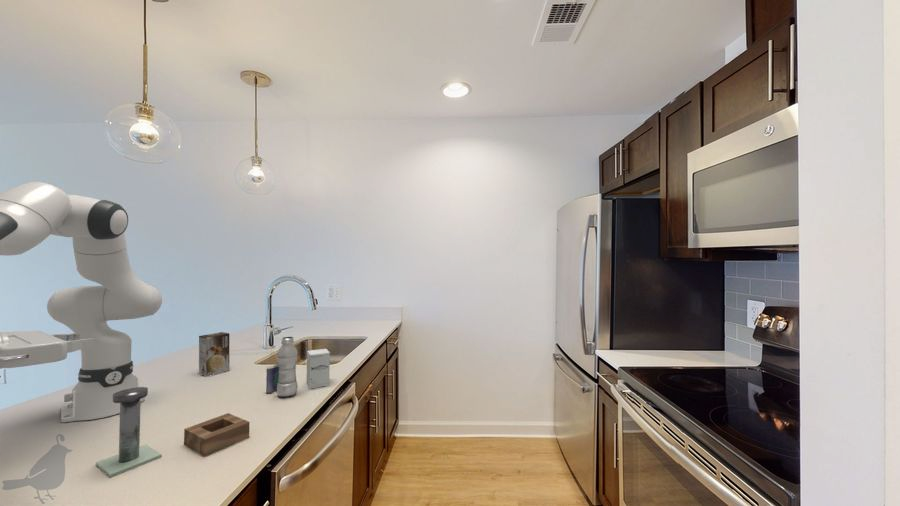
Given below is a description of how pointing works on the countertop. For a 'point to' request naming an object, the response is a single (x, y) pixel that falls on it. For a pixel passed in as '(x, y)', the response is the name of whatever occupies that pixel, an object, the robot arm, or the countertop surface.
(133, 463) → the coaster
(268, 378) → the flask
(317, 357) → the supplement box
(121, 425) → the dark grey capped cylinder
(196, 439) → the walnut block
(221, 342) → the coffee box
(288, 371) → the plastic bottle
